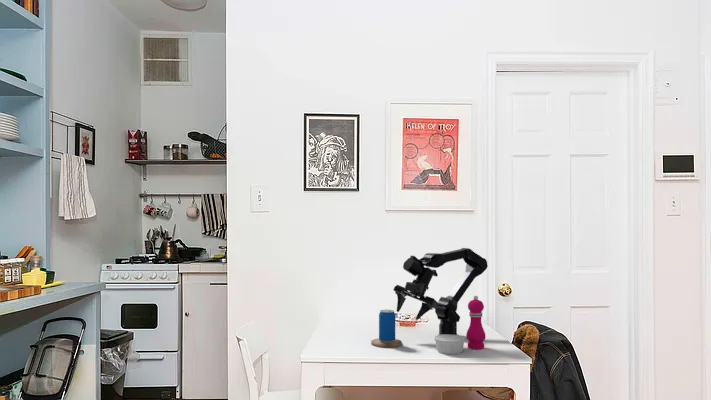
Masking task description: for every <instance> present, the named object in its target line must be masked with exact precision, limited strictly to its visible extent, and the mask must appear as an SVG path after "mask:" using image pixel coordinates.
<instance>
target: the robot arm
mask: <svg viewBox="0 0 711 400" xmlns="http://www.w3.org/2000/svg"><path fill="white" fill-rule="evenodd" d="M462 259H463V261H464V263H465V264H466V265H465V271H464V273H463V274H462V275H461V277H460V278H459V280H458V281H457V283H456V284H455V286H454V287H453V288H452V289H451V291H450V292H449V294H448V295H447V296H446V297H444V296H440V297H439V300H438V301H437V300H436V299H435V298H433V297H431V296H427V295H426V296H425V294H426V291H428V290H429V288H430V287H429V285H430V283H431V281H432V278H433V277H438V273H437V270H436V268H437V269H438V268H440V267H442V266H444V265H445V264H447V263H450V262H455V261H457V260H462ZM402 268H403V270H405V271H406V272H408V273H409V274H410V275H412V276H414V277H416V278H415V279H413V280H412V282H411V281H406V283H405V286H401V285H400V284H399V285H398V284H397V285H394V288H393V291H394V293H395V295H396V297H397V302H396V303H397V304H396V313H399V312H400V311H401V309H402V307H403V305H404V303H405V302H406V299H407V298H406V297H407V296H408V297H410V298H412V299H415V300H417V301H420V302H421V306H420V309H419V311H418V313H417V314H416V317H415V320H416V321H418V320H419V319H420V318H421V317H422V316H424V315H425V314H426V313H428V312H429V311H432V310H434V311H435V314H436V316H437V317H436V318H437V319H438V320H439V321H440V322H439V325H438V335H443V334H450V335H458V333H457V332H458V330H457V329H458V328H457V327H458V324H457V323H458V322H460V319H461V316H460V315H459V313H457V310H458V303H459V301H460V300H461V299H462V297H463V296H464V295H465V293H466V292H467V290H468V289H469V287H470V286H471V285H472V283H473V281H474V280H475V279H476V278H477V277H479V276H480V275H482V274H483V273H484V272H485V271H486V270H487V268H488V260H487V259H486V258H484V257H482V256H481V255H480V254H478V253H476V252H475V251H473V250H472V249H471V248H469V247H467V248H466V247H462V248H460V249H455V250H451V251H446V252H441V253H439V252H438V253H437V252H433V253H432V252H430V253H429V252H427V253H425V254H423V256H422V257H421V258H420V259H418V258H417V256H415V255H410V257H408V258H407V259H406V260H405V261H404V263H403V266H402ZM431 268H434V269H431Z"/></svg>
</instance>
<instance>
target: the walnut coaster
mask: <svg viewBox="0 0 711 400" xmlns="http://www.w3.org/2000/svg"><path fill="white" fill-rule="evenodd" d="M370 342H371V343H370V344H371V346H374V347H376V348H398V347H401V346H403V345H402V344H403V342H402V340H401V339H397V338H395V340H394V341H393V342H391V343H384V342H381V341H380V340H379V338H374V339H372V340H371V341H370Z"/></svg>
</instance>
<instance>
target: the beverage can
mask: <svg viewBox="0 0 711 400" xmlns="http://www.w3.org/2000/svg"><path fill="white" fill-rule="evenodd" d="M378 339H379V340H380V341H381V342H384V343H391V342H393V341H394V340H395V339H396V313H395V310H393V309H381V310H379V313H378Z"/></svg>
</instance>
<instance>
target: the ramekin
mask: <svg viewBox="0 0 711 400" xmlns="http://www.w3.org/2000/svg"><path fill="white" fill-rule="evenodd" d="M465 339H466V338H465V337H464V336H462V335H459V334H457V335H450V334H443V335H440V334H438V335H437V334H436V335H435V336H434V341H435V342H434V343H435V347H436V351H437V352H438V353H441V354H444V355H459V354H461V353H462V352H463V351H464V343H465Z"/></svg>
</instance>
